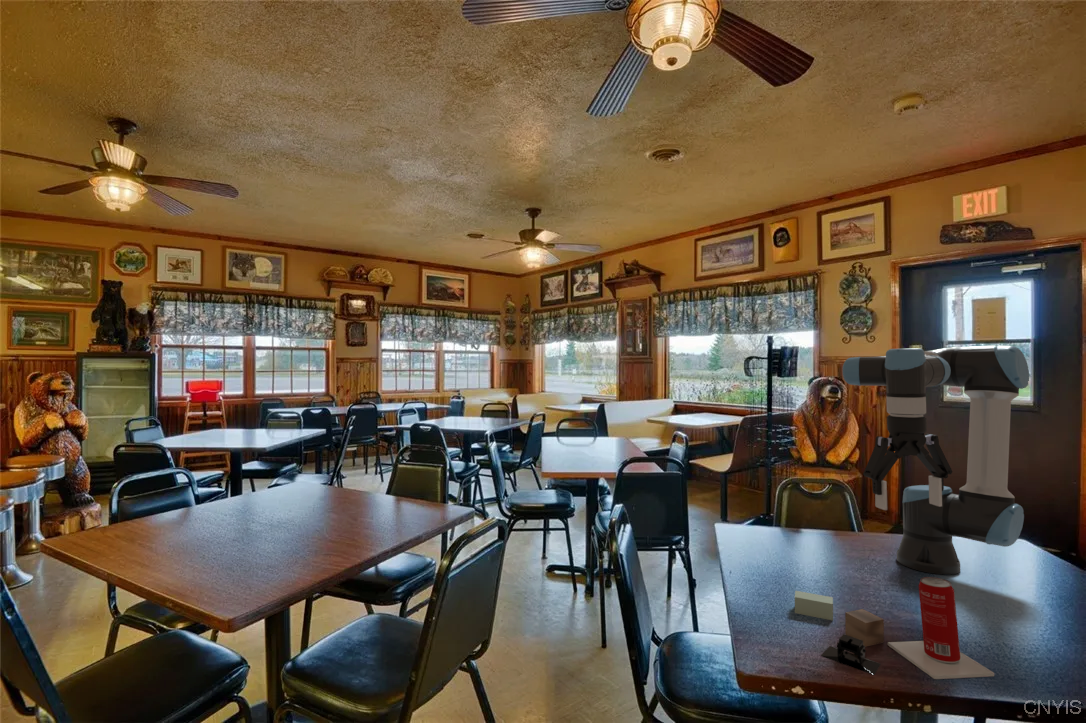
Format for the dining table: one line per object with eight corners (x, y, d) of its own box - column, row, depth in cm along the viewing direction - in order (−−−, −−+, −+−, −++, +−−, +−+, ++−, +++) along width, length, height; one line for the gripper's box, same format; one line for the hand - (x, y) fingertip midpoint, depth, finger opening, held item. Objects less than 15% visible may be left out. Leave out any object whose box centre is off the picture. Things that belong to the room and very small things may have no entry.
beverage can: (967, 666, 101) (966, 588, 101) (929, 663, 102) (928, 586, 102) (948, 650, 107) (947, 576, 107) (913, 647, 108) (912, 574, 108)
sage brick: (795, 606, 128) (795, 590, 128) (832, 614, 124) (832, 597, 124) (794, 613, 124) (794, 596, 124) (833, 621, 121) (833, 604, 121)
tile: (941, 642, 111) (941, 639, 111) (994, 676, 99) (994, 673, 99) (887, 645, 110) (887, 642, 110) (934, 679, 98) (934, 676, 98)
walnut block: (862, 631, 116) (862, 608, 116) (883, 642, 111) (883, 619, 111) (845, 635, 114) (845, 612, 114) (866, 646, 109) (865, 623, 109)
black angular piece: (811, 657, 106) (811, 634, 106) (824, 643, 112) (823, 622, 112) (882, 683, 98) (882, 659, 98) (892, 668, 103) (892, 644, 103)
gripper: (941, 411, 125) (944, 499, 126) (844, 415, 123) (847, 505, 123) (970, 414, 118) (972, 508, 118) (867, 419, 115) (870, 514, 116)
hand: (908, 506), depth 121 cm, fingers open, 13 cm apart
